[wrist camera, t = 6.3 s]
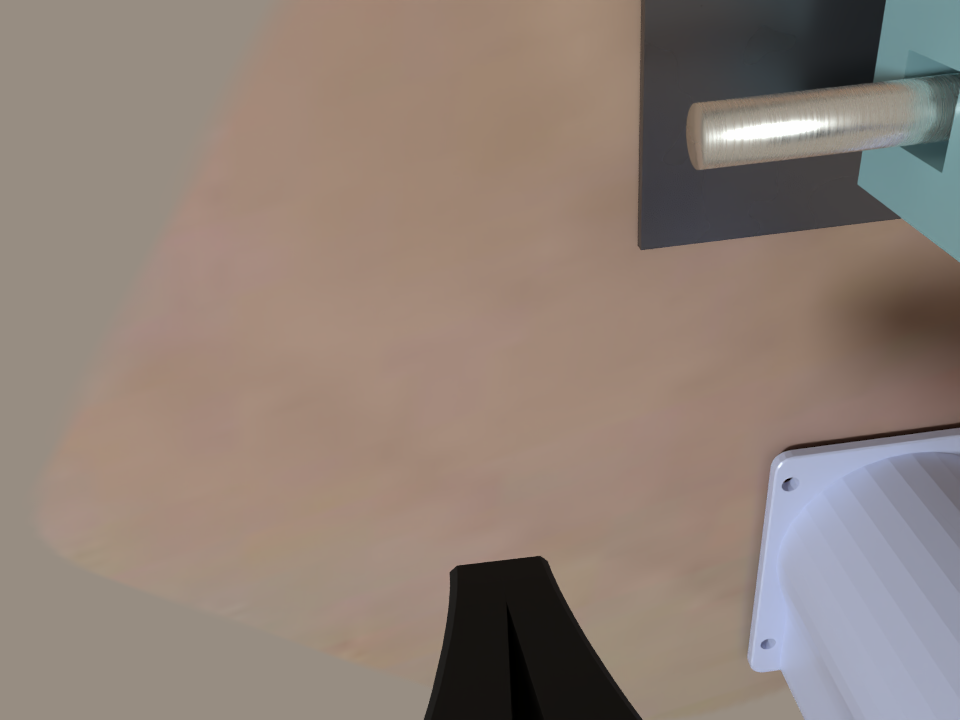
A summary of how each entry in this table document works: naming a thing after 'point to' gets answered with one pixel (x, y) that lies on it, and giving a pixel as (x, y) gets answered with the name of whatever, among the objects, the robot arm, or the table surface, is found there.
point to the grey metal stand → (769, 117)
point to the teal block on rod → (930, 166)
